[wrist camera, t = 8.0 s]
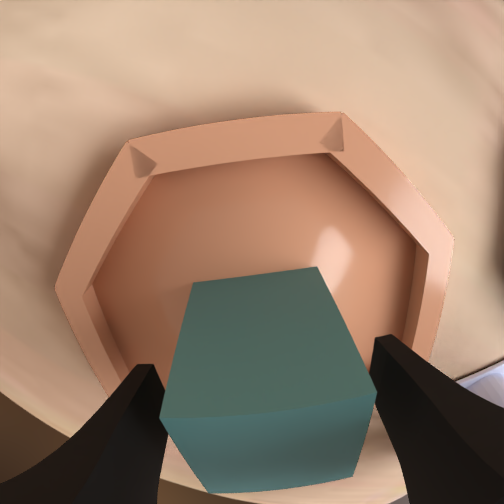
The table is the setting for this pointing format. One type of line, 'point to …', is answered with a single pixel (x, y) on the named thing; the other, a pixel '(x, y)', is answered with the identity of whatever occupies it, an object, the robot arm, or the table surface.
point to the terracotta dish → (251, 235)
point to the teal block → (267, 385)
